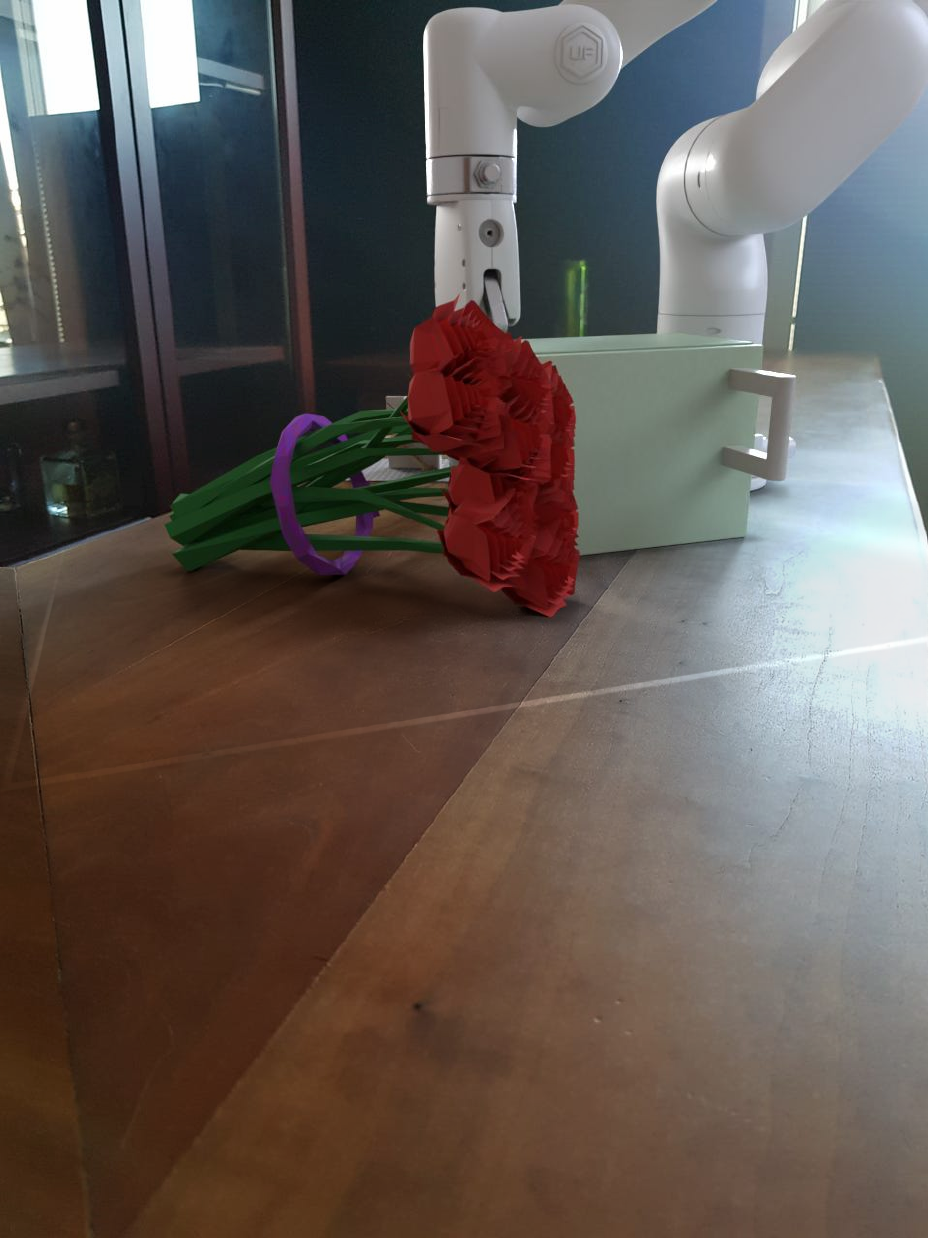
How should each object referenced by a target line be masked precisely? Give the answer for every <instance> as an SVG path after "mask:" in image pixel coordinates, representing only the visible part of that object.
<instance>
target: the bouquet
mask: <svg viewBox="0 0 928 1238" xmlns="http://www.w3.org/2000/svg"><path fill="white" fill-rule="evenodd" d="M460 293H461V292H460ZM460 293H459V295H458V296H457V297H456V299H455V300H453V301H450V302H448V303H445V304H442V305H439V306H437V307H436V306H435V308H434V310H433V313H432V316H431V317H429V318H428V319H426V320H425V321H423V322H421V323H420V324H418V325H417V326H415V327H414V328H413V331H412V334H411V338H410V341H409V365H410V368H411V371H412V375H413V376H410V378H411V380H410V381H409V384H408V385H409V386H408V392H407V393H408V394H407V395H406V396H407V397H406V398H405V399H404V400H403V402H402V403H401V404H400V405H399V406H398V407H397V409H391V410H386V409H377V410H376V409H375V410H374V409H373V410H360V411H357V412H355V413H352V414H351V415H348V416H346V417H344V418H340V419H339V420H337V421H335V422H331V421H330V420H329V419H328V418H327V417H325V416H323V415H318V414H312V413H303V414H299V415H297V416H295V417H294V418H293V419H292V420H291V421H290V423H288V424H287V426H286V427H285V428H284V429H283V430H282V431H281V434H280V437H279V440H278V444H277V446H276V447H274V448H272V449H269V450H267V451H265V452H262V453H260V454H258V455H256V456H254V457H252V458H250V459H249V460H247V461H245V462H243V463H241V464H239V465H238V466H236V467H235V468H233V469H230V471H228V472H226V473H224V474H222V475H221V476H219V477H217V478H215V479H214V480H211V481H210V482H208V483H207V484H205V485H203V486H201V487H200V488H198V489H196V490H194V491H192V492H191V493H180V494H179V495H178V496H177V497H176V498H175V499H174V500H173V502H172V504H170V505H169V508H170V510H171V511H172V512H171V513H170V514H169V515H168V517H169V518H170V520H171V521H169V522H167V523H164V527H165V529H166V532H167V534H168V536H169V538H170V539H171V540H173V541H174V542H176V543H177V544H179V545H180V546H181V547H179V549H177V550H175V551H174V552H173V553H171V554H172V556H173V557H174V558H175V559H176V560H177V562H179V564H180V565H181V566H182V567H183V568H184V569H185V570H186V571H187V572H192V571H194V570H197V569H199V568H201V567H203V566H205V565H208V564H210V563H212V562H215V561H217V560H221V559H222V558H225V557H227V556H228V555H231V554H233V553H236V552H238V551H266V552H267V551H269V552H270V551H271V552H292V554H293V555H294V557H295V558H296V560H298V561H299V562H301V563H302V564H303V565H305V566H306V567H307V568H309V569H310V570H311V571H312V572H314V573H315V574H316V575H321V576H324V575H325V576H334V575H335V576H337V575H338V576H339V575H342V576H343V575H347V573H349V571H350V570H351V569H353V567H354V566H355V565H356V563H357V562H358V561H359V560H360V558H361V556H362V554H363V551H364V552H365V551H370V552H371V551H372V552H373V551H407V552H418V553H427V554H428V553H429V554H439V555H443V556H444V557H445V558H446V559H447V562H448V563H449V564H450V565H451V567H453V569H454V570H455V571H456V573H458V574H459V575H460V576H461V577H466V578H469V579H472V580H475V581H476V582H478V583H480V584H481V585H482V586H484V587H486V588H487V589H488V590H490V591H492V592H493V593H495V592H497V591H499V590H500V591H501V592H502V593H503V594H504V595H505V596H506V597H508V599H510V601H511V602H513V604H515V605H516V606H522V607H526V608H528V609H530V610H533V611H535V612H537V613H540V614H542V615H544V616H547V617H549V618H552V617H554V616H555V615H556V613H557V612H558V611H559V610H560V609H561V608H564V607H567V602H566V601H564V599H567V598H569V597H571V596H573V595H574V594H575V593H576V592H575V590H576V583H577V576H578V567H579V560H580V556H579V555H580V552H579V550H578V549H575V547H574V546H578V544H577V542H576V541H575V539H576V538H578V537H579V536H578V535H577V530H578V527H579V513H578V512H577V509H578V506H577V503H576V500H575V497H574V494H573V491H572V490H574V480H575V477H574V473H575V470H574V468H575V454H574V449H572V448H571V447H574V446H575V443H574V438H573V437H575V431H574V429H576V427H575V424H576V415H575V406H570V405H571V404H572V403H574V402H573V399H572V397H571V394H569V391H568V389H567V387H566V385H565V383H564V384H563V381H562V378H561V375H560V376H559V374H558V371H557V368H556V365H553V366H552V361H548V362H546V363H544V364H541V363H540V362H539V360H538V358H537V356H536V355H535V353H534V351H533V350H532V348H531V345H530V343H529V341H527V340H525V341H523V342H522V343H521V339H523V338H522V337H523V335H521V336H519V337H518V338H516V339H513V337H512V335H511V333H510V332H509V331H507V333H504V332H503V331H502V330H501V329H500V328H498V327H497V326H496V325H495V324H494V323H493V322H492V321H491V320H490V319H489V318H488V317H487V316H486V314H485V313H484V312H483V311H482V310H481V309H480V307H479V306H478V305H477V303H476V302H475V301H473V300H471V301H470V302H469V303H468V304H467V303H466V305H465V306H464V308H462V309H459V310H457V311H455V308H456V305H457V302H458V299H459V296H460ZM499 325H500V324H499ZM499 325H498V326H499ZM406 375H407V376H409V374H408V373H406ZM307 432H308V433H307ZM305 433H307V434H305ZM357 433H358V435H356V436H353V437H351V438H348V437H347V435H351V434H357ZM359 433H362V434H359ZM394 433H399V434H397V435H396V436H394V437H388V438H385V437H386V436H388V435H390V434H394ZM327 443H330V444H331V445H330V446H327V447H324V448H322V449H319V450H316V451H314V452H312V451H313V450H315V449H318V448H319V447H321V446H324V445H325V444H327ZM410 443H422V444H424V445H427V446H428V448H397V447H398V446H400V445H405V444H410ZM310 452H312V453H310ZM308 453H309V454H308ZM404 455H442V456H447V457H448V458H449V457H451V458H453V459H455V460H457V461H459V463H458V466H451V467H447V468H442V469H438V470H434V471H430V472H426V473H421V474H417V475H413V476H409V477H404V478H400V479H396V480H391V481H381V482H378V483H372V484H371V483H370V482H371V481H366V479H365V477H364V474H363V472H362V470H364V469H366V468H368V467H370V466H371V465H373V464H375V463H377V462H379V461H380V460H381V459H385V457H386V456H387V457H389V456H404ZM448 477H450V478H449V481H448V483H447V486H448V487H447V488H446V487H419V486H423V485H426V484H430V483H433V482H438V481H437V480H441V479H445V478H448ZM348 478H350V480H349V481H350V483H351V486H352V488H347V487H346V488H345V487H336V486H338V485H339V484H341V483H343V482H345V481H347V480H346V479H348ZM437 497H445V499H446V501H447V503H448V506H443V505H435V504H426V503H420V502H419V503H418V502H411V501H407V500H413V499H420V498H421V499H422V498H437ZM380 511H381V512H382V511H388V512H389V513H393V514H396V515H399V516H401V517H404V518H406V519H409V520H411V521H414V522H417V523H420V524H422V525H425V526H427V527H430V528H432V529H435V530H437V531H436V532H437V535H438V537H439V540H440V541H432V540H423V539H417V538H408V537H394V536H393V537H392V536H391V537H390V536H371V534H372V531H373V529H374V519H376V518H379V517H381V514H380ZM422 514H424V515H422ZM425 515H431V516H432V515H433V516H440V517H446V520H445V521H444V524H442V523H439V522H437V521H436V520H433V519H431V518H429V517H426V516H425ZM353 517H355V533H354V534H353V535H344V534H320V533H306V532H305V531H304V529H303V528H305V527H311V526H315V525H320V524H321V525H322V524H326V523H330V522H335V521H339V520H343V519H344V520H345V519H348V518H353ZM317 552H344V553H343V555H342V556H341V557H339V558H336V559H334V560H329V559H327V558H325V557H323V556H321V555H319V554H318V553H317Z"/></svg>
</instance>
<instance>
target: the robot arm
mask: <svg viewBox="0 0 928 1238" xmlns="http://www.w3.org/2000/svg"><path fill="white" fill-rule="evenodd" d="M717 1H718V0H562V1H561V2H560V3H558V5H553V6H547V7H540V8H533V9H525V10H524V9H523V10H516V11H504V12H503V11H500V10H497V9H493V8H488V7H487V8H486V7H457V8H450V9H446V10H443V11H441V12H438V13H436V14H434V15H433V16H432V17H431V18H430V19H429V20H428V22H427V24H426V25H425V28H424V32H423V81H424V82H423V83H424V84H423V86H424V87H423V88H424V121H425V125H424V126H425V159H426V161H425V167H426V169H425V171H426V197H427V198H426V202H427V203H426V205H430V206H436V213H435V214H436V215H435V228H434V232H435V233H434V234H435V235H434V300H435V301H434V302H435V308H436V307H437V306H439V305H442V304H445V303H448V302H450V301H453V300H455V299H456V297H457V296H458V295H459V293H460V292H461V293H460V296H459V299H458V302H457V305H456V308H455V311H457V310H459V309H462V308H464V306H465V305H466V303H467V304H468V303H469V302H470V301H471V300H473V301H475V302H476V303H477V305H478V306H479V307H480V309H481V310H482V311H483V312H484V313H485V314H486V316H487V317H488V318H489V319H490V320H491V321H492V322H493V323H494V324H495V325H496V326H497V327H498V328H500V329H501V330H502V331H503V332H504V333H507V332H508V330H509V327H513V326H515V325H516V324H517V323H518V322H519V320H520V318H521V290H520V289H521V285H520V283H521V280H520V258H519V257H520V256H519V241H518V228H517V219H516V212H515V206H514V204H517V193H518V192H517V189H518V188H517V186H518V184H517V181H518V180H517V177H518V176H517V173H518V172H517V171H518V169H517V167H518V166H517V165H518V161H517V158H518V156H517V155H518V147H517V146H518V120H520V121H521V122H523V123H525V124H527V125H529V126H532V127H536V128H549V127H554V126H556V125H559V124H562V123H563V122H566V121H567V120H569V119H571V118H574V117H575V116H578V115H580V114H582V113H584V112H586V111H588V110H590V109H591V108H593V107H595V106H596V105H597V104H598V103H600V102H601V101H602V100H603V99H605V97H606V96H607V95H608V94H609V93H610V91H611V90H612V89H613V86H614V85H615V84H616V82H617V79H618V77H619V74H620V71H621V70H622V69H623V68H624V67H625V66H627V65H628V64H630V62H631V61H633V60H634V59H635V58H637V57H638V56H639V55H641V53H643V52H644V51H645V50H647V49H648V48H649V47H651V46H652V45H654V44H655V43H656V42H657V41H659V40H660V39H661V38H664V36H666V35H667V34H669V33H671V32H673V31H674V30H675V29H678V28H679V27H681V26H683V25H684V24H686V23H688V22H689V21H691V20H692V19H694V18H696V17H697V16H699V15H700V14H702V13H703V12H705V11H707V9H709V8H710V7H712V6H713V5H714V4H716V2H717ZM927 87H928V0H825V1H824V2H823V3H822V4H821V5H820V6H819V7H817V9H816V10H815V11H814V12H813V13H811V15H809V17H808V18H807V19H806V20H805V21H804V22H802V23H801V24H800V25H799V26H798V27H797V28H796V29H794V31H793V32H792V33H790V35H788V36H787V37H786V38H785V39H784V40H783V41H782V42H781V43H780V44H779V45H778V47H777V48H775V50H774V52H773V53H772V54H771V56H770V57H769V59H768V60H767V62H766V64H765V65H764V67H763V69H762V72H761V74H760V76H759V80H758V83H757V87H756V94H755V101H753V102H752V103H751V104H750V105H748V106H746V107H744V108H741V109H738V110H735V111H734V110H733V111H731V112H729V113H728V112H727V113H724V114H721V115H718V116H715V117H712V118H709V119H706V120H704V121H702V122H700V123H698V124H696V125H694V126H692V127H691V128H689V129H688V130H687V131H685V132H684V133H683V134H682V135H681V136H680V137H678V139H677V140H676V141H675V142H674V143H673V145H672V146H671V147H670V148H669V149H668V152H667V153H666V155H665V157H664V159H663V162H662V164H661V167H660V170H659V173H658V176H657V177H658V178H657V183H656V199H655V201H656V204H655V205H656V218H657V228H658V240H659V243H658V244H659V293H658V313H657V323H656V325H657V326H656V327H657V328H656V334H662V333H682V334H690V335H698V336H707V337H715V338H724V339H732V340H740V341H749V342H753V343H754V344H753V345H755V344H756V345H763V339H764V338H763V337H764V328H765V317H766V310H767V302H768V301H767V300H768V279H769V278H768V276H769V275H768V263H767V262H768V260H767V254H766V248H765V247H766V246H765V240H764V239H765V238H764V235H766V234H771V233H776V232H779V231H782V230H785V229H787V228H789V227H791V226H793V225H795V224H796V223H798V222H800V221H801V220H803V219H804V218H805V217H807V216H808V215H809V214H811V213H812V212H813V211H814V210H815V209H817V208H818V207H819V206H820V205H821V204H822V203H823V202H824V201H825V200H826V199H828V198H829V196H831V195H832V194H833V193H834V192H835V191H836V190H837V189H838V188H840V186H841V185H842V184H843V183H844V182H845V181H846V180H847V179H848V178H849V177H850V176H851V175H852V174H853V173H854V172H855V171H856V170H858V168H859V167H860V166H862V164H863V163H864V162H865V161H866V160H868V159H869V158H870V156H872V154H874V153H875V152H876V151H877V150H878V149H879V148H880V147H881V146H882V145H883V144H884V143H885V142H886V141H887V140H888V139H889V138H890V137H891V136H892V135H893V134H894V133H895V132H896V131H897V130H898V129H899V128H900V126H901V125H903V123H904V122H905V121H906V120H907V119H908V118H909V117H910V115H911V114H912V113H913V111H914V110H915V109H916V107H917V105H918V104H919V102H920V100H921V99H922V97H923V95H924V94H925V91H926V90H927ZM499 324H500V325H499ZM498 325H499V326H498ZM767 445H768V438H766V437H765V435H763V434H759V433H756V434H755V444H754V450H757V451H761V452H764V453H767ZM796 452H797V443H796V441H795V439H793V437H790V440H789V450H788V459H789V458H790V459H791V458H793V457H794V456H795V455H796ZM766 484H767V480H765V479H762V478H759V477H756V476H753V475H752V476H751V487H750V492H753V491H754V492H755V491H757V490H759V489H761V488H763V487H765V486H766Z"/></svg>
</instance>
